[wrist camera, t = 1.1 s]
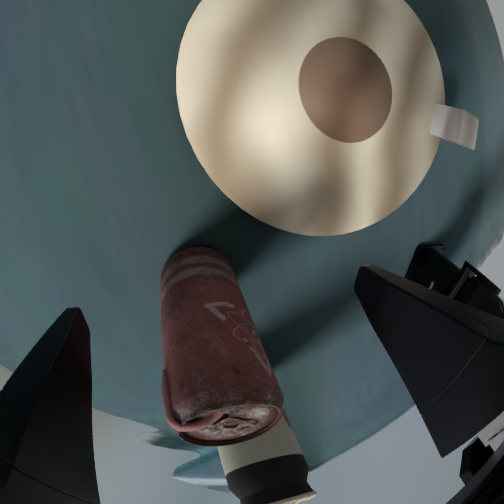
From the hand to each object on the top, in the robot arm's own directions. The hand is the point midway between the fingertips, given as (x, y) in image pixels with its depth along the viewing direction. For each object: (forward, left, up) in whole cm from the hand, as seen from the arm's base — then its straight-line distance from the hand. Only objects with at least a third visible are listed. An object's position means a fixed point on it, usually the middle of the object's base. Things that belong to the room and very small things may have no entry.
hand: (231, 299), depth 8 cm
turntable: (-10, -8, -12) cm, 18 cm away
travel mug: (-4, +23, -14) cm, 27 cm away
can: (0, +8, -14) cm, 16 cm away
